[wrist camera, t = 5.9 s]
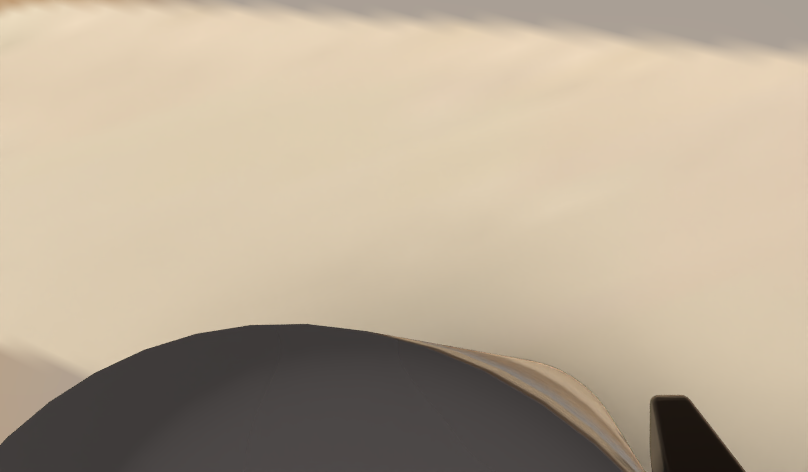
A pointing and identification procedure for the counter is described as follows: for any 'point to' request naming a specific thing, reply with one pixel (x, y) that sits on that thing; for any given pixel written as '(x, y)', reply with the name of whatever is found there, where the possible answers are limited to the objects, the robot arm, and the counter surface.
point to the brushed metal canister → (320, 410)
